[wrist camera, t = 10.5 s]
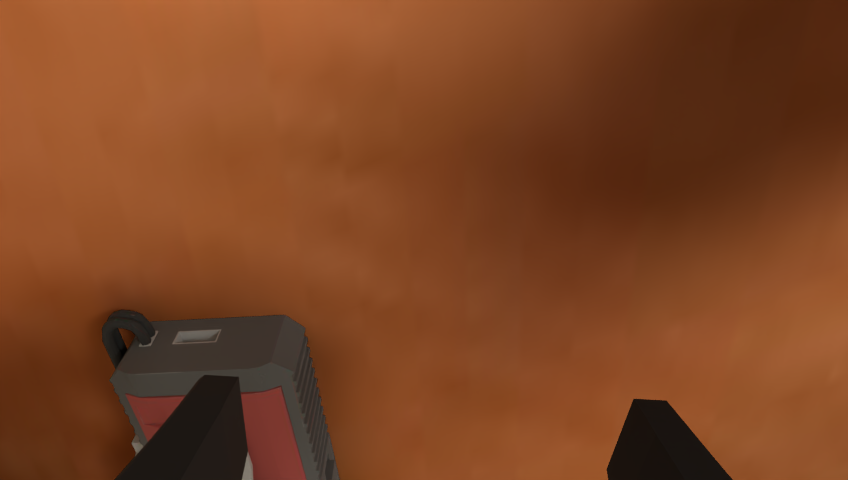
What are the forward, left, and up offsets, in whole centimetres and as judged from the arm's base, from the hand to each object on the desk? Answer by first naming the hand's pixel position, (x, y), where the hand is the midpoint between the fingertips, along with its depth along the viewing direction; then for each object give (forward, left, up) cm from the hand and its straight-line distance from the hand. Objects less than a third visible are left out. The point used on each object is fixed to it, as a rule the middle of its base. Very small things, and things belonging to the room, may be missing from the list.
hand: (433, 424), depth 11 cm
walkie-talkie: (+7, +15, -10) cm, 19 cm away
